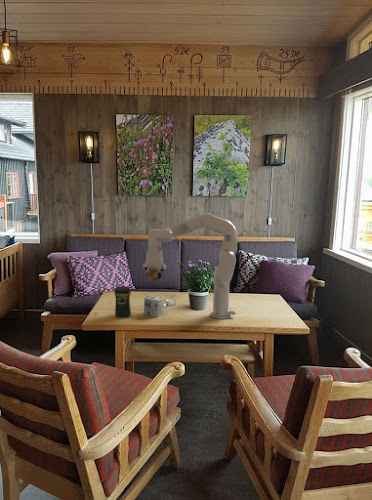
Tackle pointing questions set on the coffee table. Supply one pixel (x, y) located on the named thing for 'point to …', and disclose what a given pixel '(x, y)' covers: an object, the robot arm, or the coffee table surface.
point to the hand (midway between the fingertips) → (154, 278)
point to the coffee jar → (122, 301)
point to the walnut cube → (153, 275)
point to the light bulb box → (154, 306)
